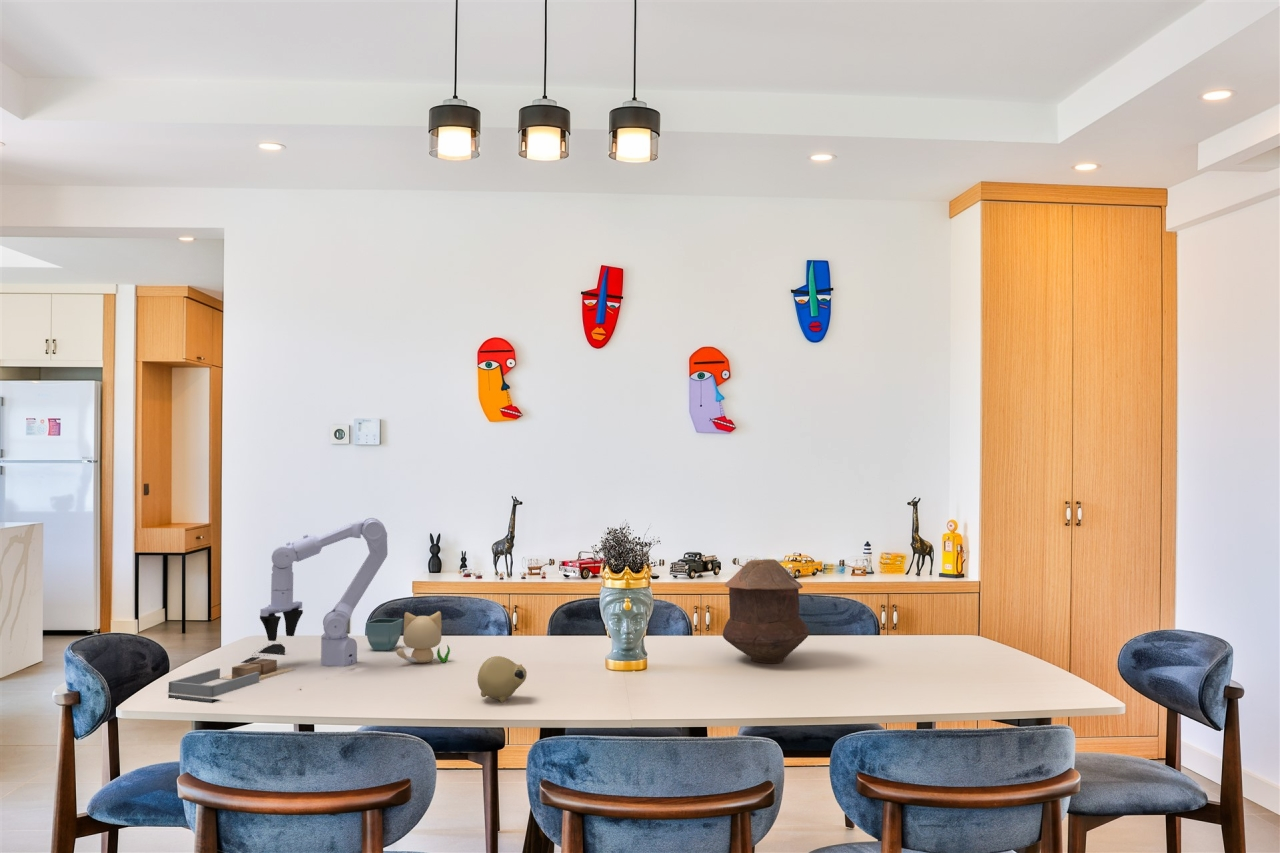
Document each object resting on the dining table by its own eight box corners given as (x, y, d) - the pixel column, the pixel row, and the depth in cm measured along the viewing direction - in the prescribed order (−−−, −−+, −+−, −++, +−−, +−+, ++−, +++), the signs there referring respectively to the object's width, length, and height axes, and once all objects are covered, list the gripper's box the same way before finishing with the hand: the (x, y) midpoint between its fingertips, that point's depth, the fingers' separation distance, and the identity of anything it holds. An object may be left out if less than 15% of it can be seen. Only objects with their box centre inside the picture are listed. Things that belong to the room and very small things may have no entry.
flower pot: (376, 646, 283) (377, 617, 284) (402, 646, 282) (403, 618, 283) (364, 651, 275) (365, 622, 275) (391, 652, 273) (391, 623, 274)
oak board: (295, 674, 244) (295, 669, 244) (256, 687, 230) (256, 681, 230) (260, 671, 248) (260, 665, 248) (219, 683, 234) (219, 678, 234)
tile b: (260, 675, 236) (261, 664, 237) (247, 680, 232) (247, 668, 232) (245, 674, 238) (246, 663, 238) (231, 678, 233) (232, 667, 233)
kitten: (450, 657, 266) (451, 607, 267) (449, 665, 256) (449, 613, 257) (399, 659, 264) (400, 609, 264) (396, 667, 254) (396, 614, 255)
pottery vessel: (802, 673, 247) (801, 565, 248) (713, 666, 255) (713, 562, 257) (814, 654, 271) (814, 556, 273) (733, 649, 280) (732, 554, 281)
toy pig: (524, 705, 214) (524, 660, 214) (474, 705, 214) (474, 660, 214) (528, 694, 224) (528, 652, 224) (480, 694, 224) (481, 652, 224)
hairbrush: (223, 663, 248) (264, 640, 273) (223, 676, 248) (264, 652, 273) (252, 663, 248) (291, 641, 273) (252, 676, 248) (291, 653, 273)
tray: (258, 687, 230) (259, 672, 230) (211, 703, 215) (212, 686, 215) (217, 683, 234) (217, 668, 234) (168, 698, 219) (168, 682, 219)
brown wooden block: (276, 670, 242) (276, 659, 242) (263, 675, 237) (263, 663, 238) (261, 669, 244) (262, 658, 244) (248, 673, 239) (248, 662, 239)
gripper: (288, 585, 256) (287, 632, 256) (251, 592, 243) (250, 642, 242) (308, 586, 254) (307, 634, 253) (272, 593, 240) (271, 643, 240)
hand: (281, 638), depth 248 cm, fingers open, 7 cm apart
